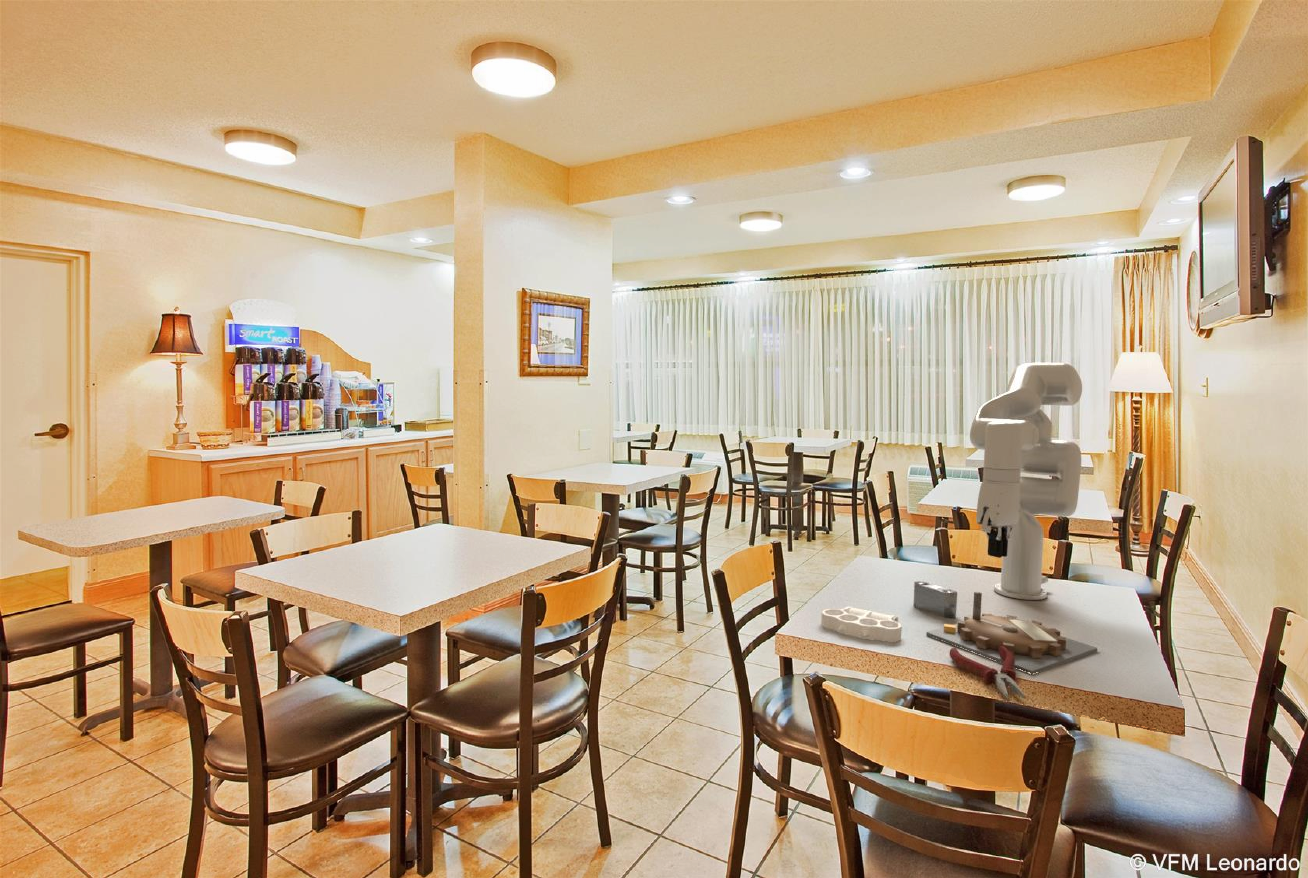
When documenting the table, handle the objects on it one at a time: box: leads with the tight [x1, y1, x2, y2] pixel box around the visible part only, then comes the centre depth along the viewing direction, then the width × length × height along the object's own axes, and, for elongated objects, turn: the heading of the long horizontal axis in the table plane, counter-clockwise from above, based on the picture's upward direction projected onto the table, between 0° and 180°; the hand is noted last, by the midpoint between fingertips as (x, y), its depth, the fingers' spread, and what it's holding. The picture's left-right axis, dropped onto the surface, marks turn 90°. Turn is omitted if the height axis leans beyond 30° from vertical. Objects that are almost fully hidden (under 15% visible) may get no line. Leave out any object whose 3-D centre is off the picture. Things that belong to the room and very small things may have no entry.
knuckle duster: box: [820, 605, 903, 643], centre depth 158 cm, size 3×18×15 cm
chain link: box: [912, 580, 958, 619], centre depth 171 cm, size 3×11×6 cm, turn 31°
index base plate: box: [925, 614, 1098, 674], centre depth 150 cm, size 24×24×2 cm
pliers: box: [949, 646, 1027, 700], centre depth 131 cm, size 12×20×3 cm, turn 173°
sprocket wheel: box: [957, 591, 1067, 658], centre depth 150 cm, size 21×21×8 cm
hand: (997, 555), depth 158 cm, fingers closed
